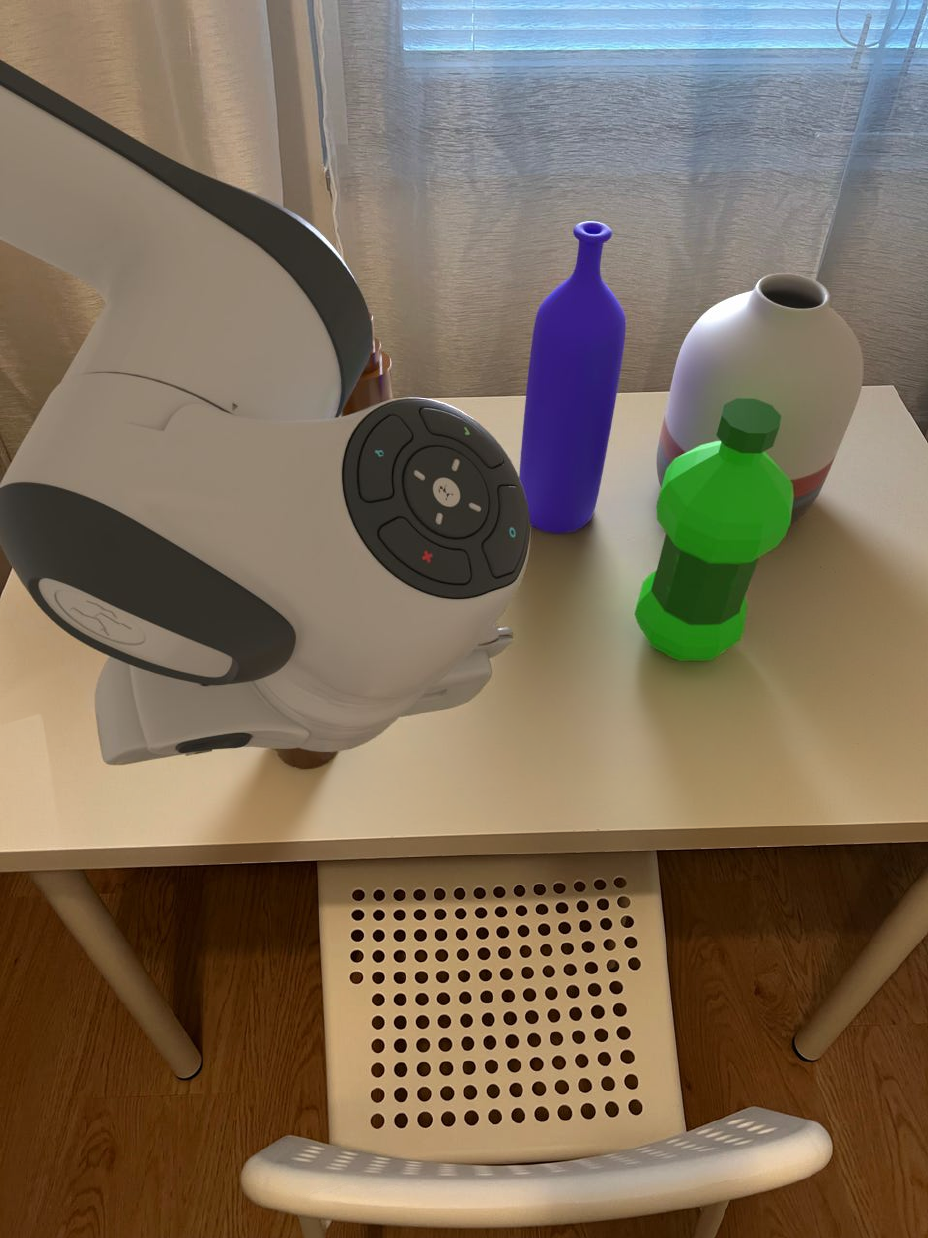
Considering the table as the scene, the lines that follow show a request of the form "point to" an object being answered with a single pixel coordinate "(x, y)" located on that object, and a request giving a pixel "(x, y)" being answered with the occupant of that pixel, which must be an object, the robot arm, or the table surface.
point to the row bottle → (371, 381)
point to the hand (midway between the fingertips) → (276, 726)
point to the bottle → (571, 391)
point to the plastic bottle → (715, 534)
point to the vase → (769, 378)
